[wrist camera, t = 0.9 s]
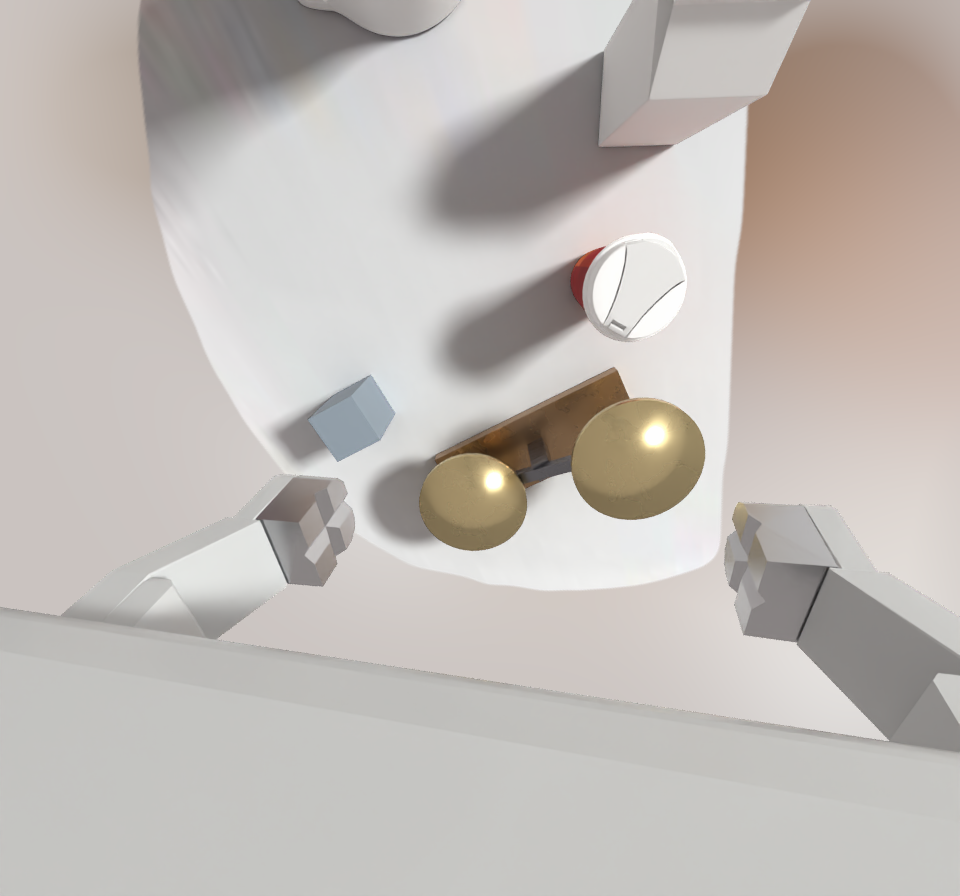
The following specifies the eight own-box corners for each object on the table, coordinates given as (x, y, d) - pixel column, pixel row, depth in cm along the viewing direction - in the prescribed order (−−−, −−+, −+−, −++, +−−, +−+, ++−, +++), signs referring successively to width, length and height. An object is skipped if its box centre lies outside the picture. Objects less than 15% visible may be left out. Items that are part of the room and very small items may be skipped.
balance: (410, 453, 55) (387, 515, 42) (630, 343, 49) (679, 376, 37) (457, 525, 59) (448, 602, 46) (666, 430, 53) (722, 487, 40)
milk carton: (676, 145, 43) (807, 73, 25) (597, 147, 43) (672, 78, 25) (688, 46, 40) (844, -112, 22) (603, 49, 40) (691, -105, 22)
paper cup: (609, 332, 49) (652, 362, 36) (545, 297, 48) (566, 315, 35) (653, 259, 46) (716, 264, 33) (586, 220, 45) (625, 210, 32)
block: (333, 395, 52) (307, 419, 45) (370, 374, 51) (351, 395, 44) (358, 432, 54) (337, 461, 47) (395, 413, 53) (380, 440, 46)
